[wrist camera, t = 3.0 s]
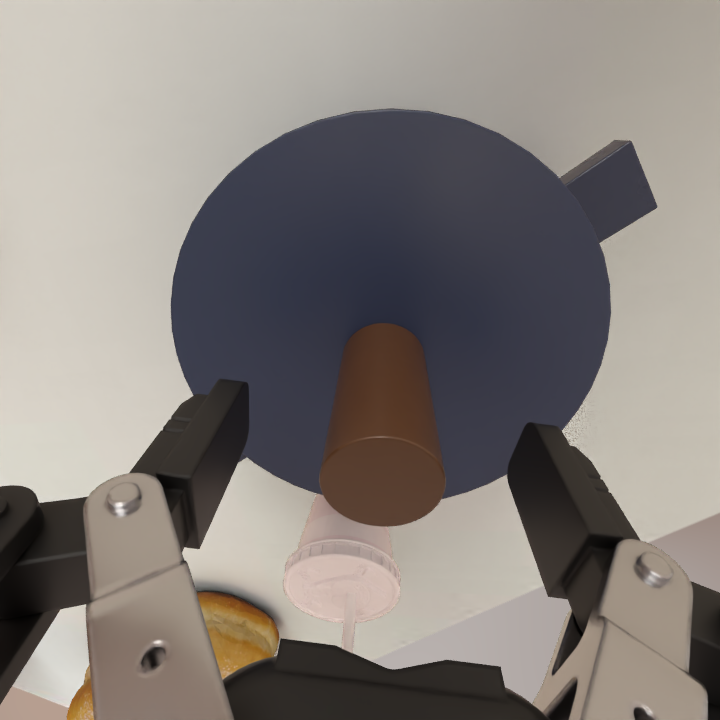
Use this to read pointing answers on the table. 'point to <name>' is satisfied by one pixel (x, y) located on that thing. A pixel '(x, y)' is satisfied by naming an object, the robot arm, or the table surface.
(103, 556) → the robot arm
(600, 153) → the pot
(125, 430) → the table surface
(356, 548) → the smoothie
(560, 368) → the lid
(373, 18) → the table surface
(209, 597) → the bread
